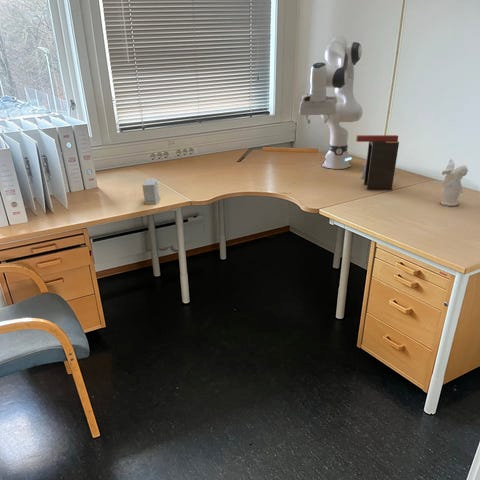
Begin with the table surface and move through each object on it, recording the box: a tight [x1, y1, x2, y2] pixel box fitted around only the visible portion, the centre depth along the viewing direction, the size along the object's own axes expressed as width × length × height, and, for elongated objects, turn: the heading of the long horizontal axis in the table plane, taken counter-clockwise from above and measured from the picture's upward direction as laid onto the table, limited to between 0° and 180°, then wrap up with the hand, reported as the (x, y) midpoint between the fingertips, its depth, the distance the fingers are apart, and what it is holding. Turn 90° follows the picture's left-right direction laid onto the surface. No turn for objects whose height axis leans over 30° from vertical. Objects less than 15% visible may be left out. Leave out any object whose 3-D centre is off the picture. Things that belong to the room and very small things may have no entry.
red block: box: [355, 134, 399, 143], centre depth 262 cm, size 3×22×3 cm, turn 86°
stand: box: [363, 141, 400, 191], centre depth 272 cm, size 12×14×26 cm
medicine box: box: [361, 163, 366, 180], centre depth 291 cm, size 8×4×9 cm, turn 47°
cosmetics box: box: [142, 179, 160, 205], centre depth 260 cm, size 10×6×10 cm, turn 178°
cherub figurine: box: [440, 158, 469, 207], centre depth 246 cm, size 12×12×22 cm
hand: (317, 123), depth 271 cm, fingers open, 8 cm apart
